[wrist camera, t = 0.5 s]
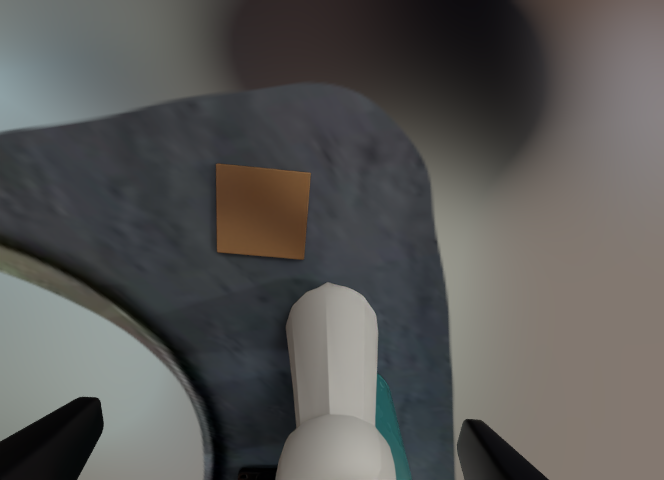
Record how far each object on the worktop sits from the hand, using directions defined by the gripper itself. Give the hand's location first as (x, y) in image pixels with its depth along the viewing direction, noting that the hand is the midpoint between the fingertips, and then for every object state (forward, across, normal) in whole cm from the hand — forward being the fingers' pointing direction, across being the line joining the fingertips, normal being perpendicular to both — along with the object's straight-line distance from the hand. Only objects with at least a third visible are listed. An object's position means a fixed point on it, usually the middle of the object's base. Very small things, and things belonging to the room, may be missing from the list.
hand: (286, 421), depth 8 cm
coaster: (+14, +3, -2) cm, 14 cm away
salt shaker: (+14, -2, +5) cm, 15 cm away
